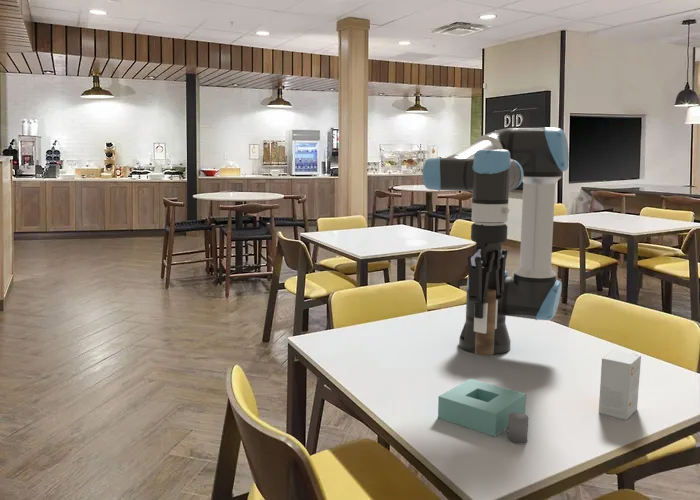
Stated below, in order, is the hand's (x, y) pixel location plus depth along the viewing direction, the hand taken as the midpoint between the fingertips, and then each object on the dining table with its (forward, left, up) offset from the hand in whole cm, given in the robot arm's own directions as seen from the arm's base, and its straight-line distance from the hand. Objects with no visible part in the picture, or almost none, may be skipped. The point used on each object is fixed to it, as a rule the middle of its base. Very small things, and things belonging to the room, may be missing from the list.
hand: (485, 329), depth 136 cm
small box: (+22, +23, -20) cm, 38 cm away
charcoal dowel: (+11, -5, -20) cm, 23 cm away
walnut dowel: (0, 0, -5) cm, 5 cm away
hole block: (0, 0, -20) cm, 20 cm away
